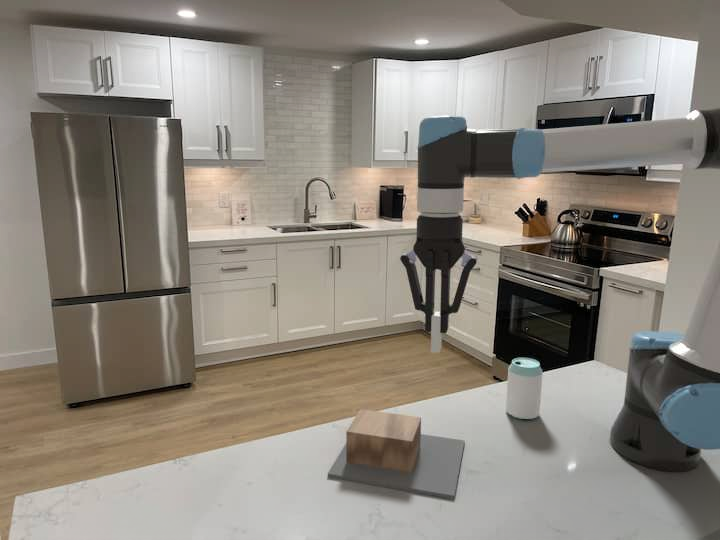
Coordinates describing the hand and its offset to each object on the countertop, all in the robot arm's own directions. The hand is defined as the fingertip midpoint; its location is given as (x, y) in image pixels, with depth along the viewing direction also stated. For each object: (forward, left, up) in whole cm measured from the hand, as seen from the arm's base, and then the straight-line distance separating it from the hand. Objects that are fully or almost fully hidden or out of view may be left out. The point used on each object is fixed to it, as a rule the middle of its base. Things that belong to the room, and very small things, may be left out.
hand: (436, 349), depth 91 cm
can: (-16, -25, -22) cm, 37 cm away
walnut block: (+3, 0, -19) cm, 19 cm away
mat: (+6, 0, -22) cm, 23 cm away
